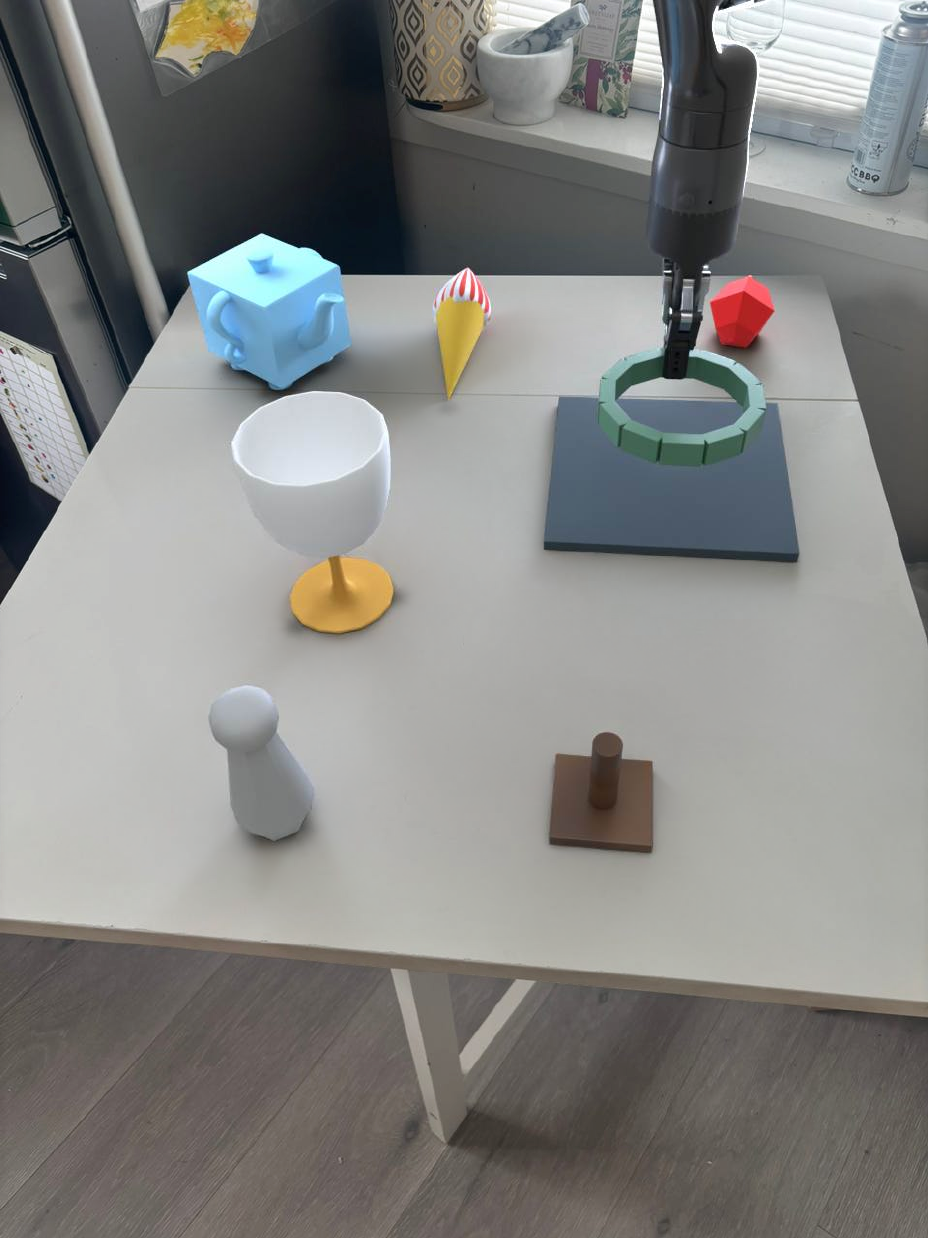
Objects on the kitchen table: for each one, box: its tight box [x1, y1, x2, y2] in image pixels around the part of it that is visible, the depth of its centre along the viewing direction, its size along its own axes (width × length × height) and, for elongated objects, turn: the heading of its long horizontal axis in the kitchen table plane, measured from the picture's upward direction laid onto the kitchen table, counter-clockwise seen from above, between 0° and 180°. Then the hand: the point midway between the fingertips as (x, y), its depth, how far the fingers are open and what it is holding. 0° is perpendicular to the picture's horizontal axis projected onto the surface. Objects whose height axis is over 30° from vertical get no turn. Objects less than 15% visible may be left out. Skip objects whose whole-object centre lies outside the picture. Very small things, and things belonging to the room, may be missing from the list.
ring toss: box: [548, 731, 654, 854], centre depth 68 cm, size 7×7×8 cm
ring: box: [597, 347, 767, 467], centre depth 89 cm, size 14×14×2 cm
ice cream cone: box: [432, 267, 492, 401], centre depth 110 cm, size 6×6×20 cm
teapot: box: [186, 233, 352, 391], centre depth 105 cm, size 18×16×13 cm
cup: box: [230, 390, 395, 634], centre depth 80 cm, size 12×12×17 cm
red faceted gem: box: [709, 274, 775, 349], centre depth 108 cm, size 7×7×8 cm
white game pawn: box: [208, 685, 315, 842], centre depth 67 cm, size 6×6×13 cm
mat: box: [543, 395, 800, 563], centre depth 94 cm, size 22×22×1 cm
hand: (673, 370), depth 94 cm, fingers closed on ring, 1 cm apart
